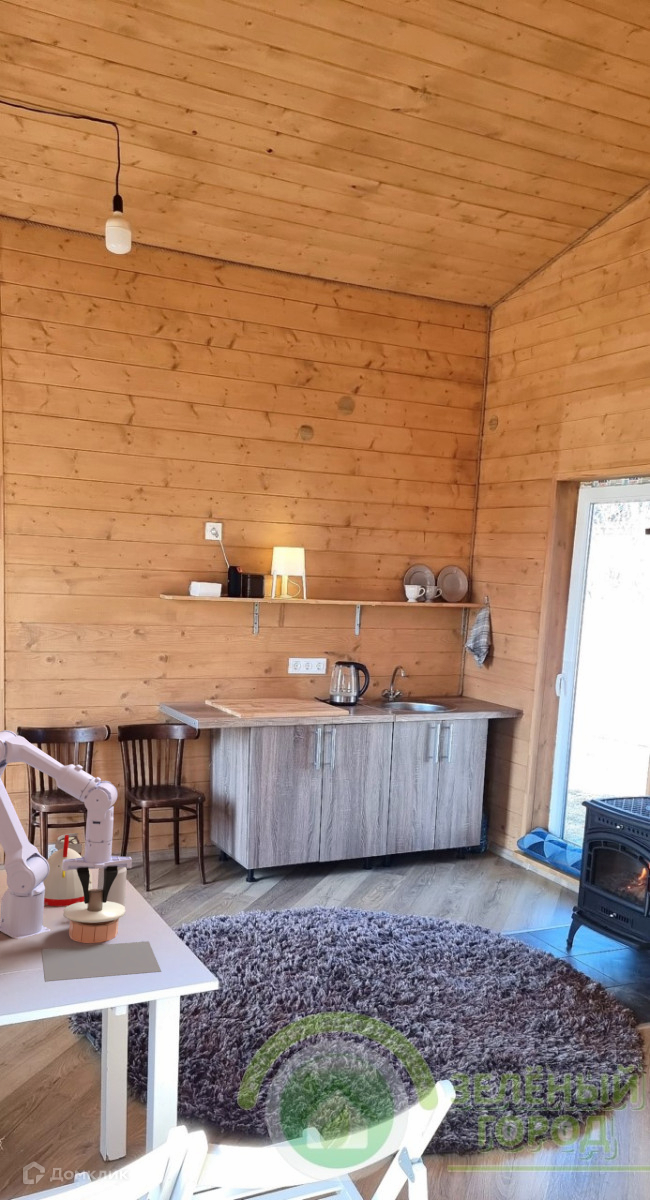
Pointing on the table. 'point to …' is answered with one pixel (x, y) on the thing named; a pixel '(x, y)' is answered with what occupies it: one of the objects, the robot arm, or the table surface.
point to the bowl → (93, 931)
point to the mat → (98, 961)
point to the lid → (94, 909)
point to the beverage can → (115, 886)
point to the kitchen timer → (63, 879)
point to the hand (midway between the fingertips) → (95, 901)
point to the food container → (70, 843)
